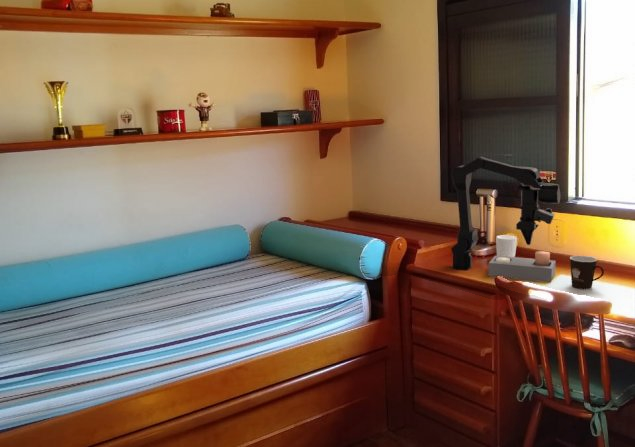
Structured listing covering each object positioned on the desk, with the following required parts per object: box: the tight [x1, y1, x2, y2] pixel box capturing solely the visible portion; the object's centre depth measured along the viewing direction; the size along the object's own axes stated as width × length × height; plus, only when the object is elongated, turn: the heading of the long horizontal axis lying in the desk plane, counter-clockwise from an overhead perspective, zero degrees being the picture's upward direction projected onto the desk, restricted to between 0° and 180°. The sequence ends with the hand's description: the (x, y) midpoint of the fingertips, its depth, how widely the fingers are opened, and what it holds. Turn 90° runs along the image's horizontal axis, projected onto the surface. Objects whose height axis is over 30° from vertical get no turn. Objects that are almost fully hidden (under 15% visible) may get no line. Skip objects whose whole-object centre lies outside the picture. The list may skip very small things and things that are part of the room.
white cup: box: [495, 234, 518, 257], centre depth 256 cm, size 8×8×10 cm
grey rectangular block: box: [488, 254, 556, 283], centre depth 237 cm, size 22×12×5 cm, turn 64°
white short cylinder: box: [496, 257, 510, 263], centre depth 240 cm, size 5×5×4 cm
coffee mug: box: [569, 255, 605, 290], centre depth 219 cm, size 12×9×10 cm
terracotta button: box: [534, 250, 551, 266], centre depth 233 cm, size 5×5×4 cm
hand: (528, 244), depth 234 cm, fingers closed
